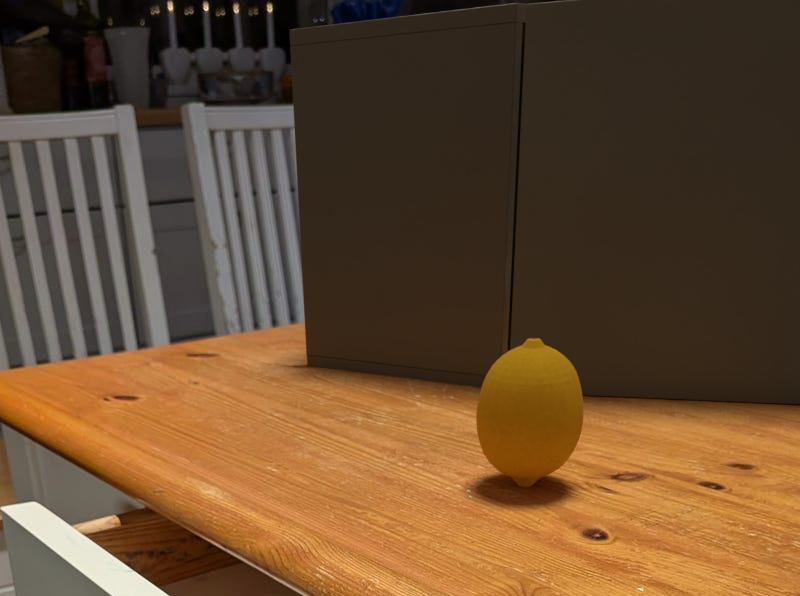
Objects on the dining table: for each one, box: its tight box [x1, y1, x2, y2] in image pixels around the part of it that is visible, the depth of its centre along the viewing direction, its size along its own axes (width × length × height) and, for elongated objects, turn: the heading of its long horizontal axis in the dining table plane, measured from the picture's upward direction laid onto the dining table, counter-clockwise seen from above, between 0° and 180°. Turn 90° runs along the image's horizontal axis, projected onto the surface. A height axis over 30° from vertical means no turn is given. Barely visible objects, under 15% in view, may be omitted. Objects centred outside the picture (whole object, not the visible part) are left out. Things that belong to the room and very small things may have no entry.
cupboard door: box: [510, 0, 800, 405], centre depth 57 cm, size 8×26×24 cm, turn 70°
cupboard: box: [289, 2, 528, 389], centre depth 79 cm, size 18×26×24 cm
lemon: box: [475, 338, 585, 489], centre depth 51 cm, size 6×6×8 cm
